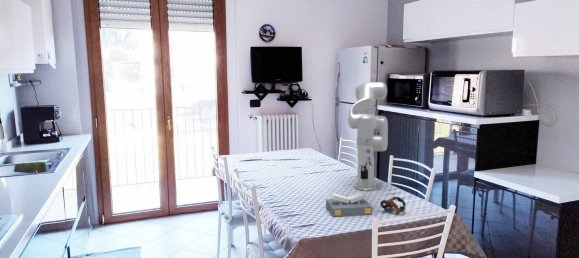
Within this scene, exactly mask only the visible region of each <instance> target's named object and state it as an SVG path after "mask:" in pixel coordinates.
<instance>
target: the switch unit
mask: <svg viewBox="0 0 579 258" xmlns="http://www.w3.org/2000/svg"><path fill="white" fill-rule="evenodd" d="M325 208H326V210H328V212H329V213H330V215H331V216H332V217H333V218H337V217H338V218H340V217H354V216H355V217H356V216H370V215H373V206H372V204H371V203H370V202H368V201H367V200H366V198H364V199H362V200H359V201H356V202H354V203H350V202H349V204H348V203H344V202H341V201H337V200H333V199H332V198H326V199H325Z"/></svg>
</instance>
